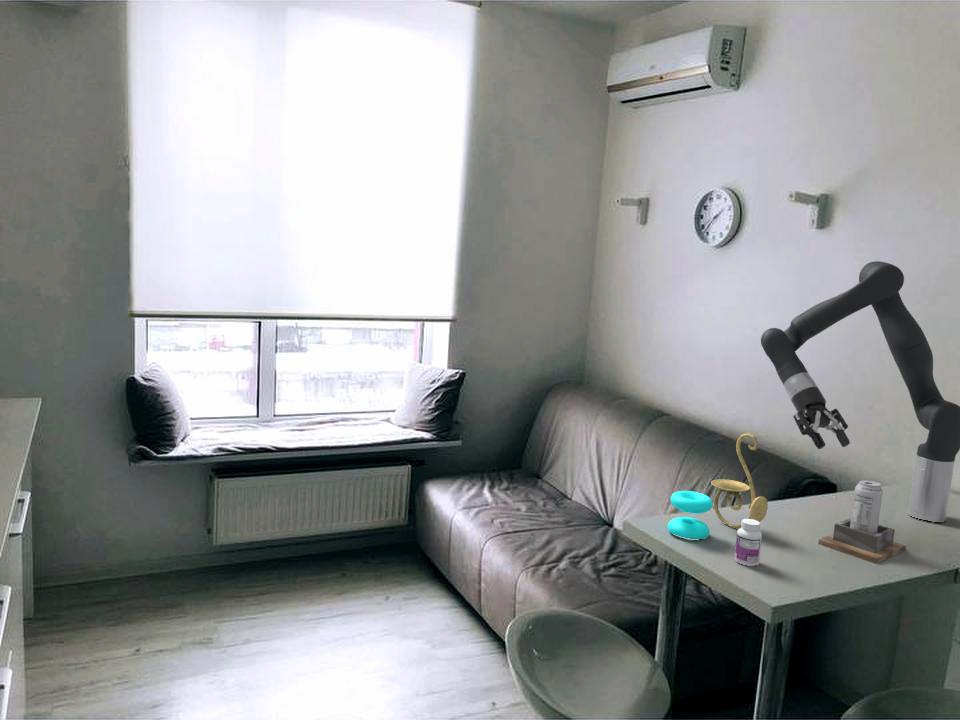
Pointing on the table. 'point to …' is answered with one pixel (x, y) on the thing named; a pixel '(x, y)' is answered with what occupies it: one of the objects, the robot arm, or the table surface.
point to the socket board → (863, 542)
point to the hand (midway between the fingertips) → (834, 446)
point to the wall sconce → (741, 489)
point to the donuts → (690, 504)
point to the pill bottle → (748, 543)
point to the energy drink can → (866, 506)
